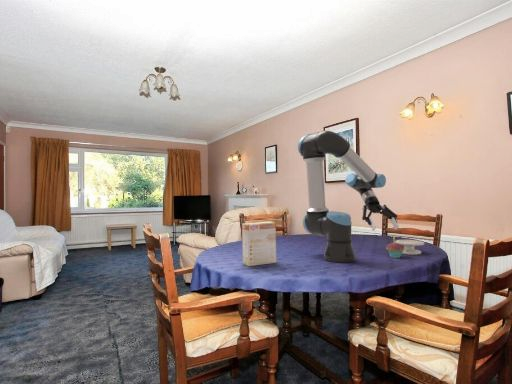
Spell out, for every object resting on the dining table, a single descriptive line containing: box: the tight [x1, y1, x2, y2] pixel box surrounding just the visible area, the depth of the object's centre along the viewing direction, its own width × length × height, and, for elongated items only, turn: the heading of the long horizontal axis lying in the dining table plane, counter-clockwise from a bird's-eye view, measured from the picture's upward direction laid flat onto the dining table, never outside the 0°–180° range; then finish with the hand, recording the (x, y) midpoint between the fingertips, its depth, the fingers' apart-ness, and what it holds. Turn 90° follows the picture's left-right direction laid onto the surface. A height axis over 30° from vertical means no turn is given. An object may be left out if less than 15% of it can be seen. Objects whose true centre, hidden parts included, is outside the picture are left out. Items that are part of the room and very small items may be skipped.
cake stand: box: [395, 239, 425, 256], centre depth 164 cm, size 14×14×6 cm
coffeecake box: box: [241, 220, 277, 267], centre depth 144 cm, size 15×7×20 cm, turn 115°
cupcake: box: [385, 234, 404, 259], centre depth 153 cm, size 9×8×12 cm
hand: (385, 228), depth 163 cm, fingers open, 13 cm apart
